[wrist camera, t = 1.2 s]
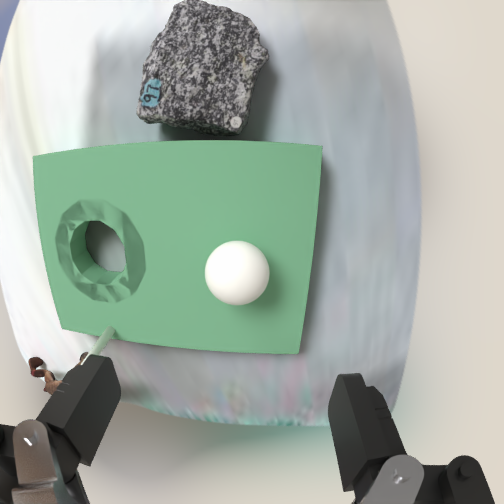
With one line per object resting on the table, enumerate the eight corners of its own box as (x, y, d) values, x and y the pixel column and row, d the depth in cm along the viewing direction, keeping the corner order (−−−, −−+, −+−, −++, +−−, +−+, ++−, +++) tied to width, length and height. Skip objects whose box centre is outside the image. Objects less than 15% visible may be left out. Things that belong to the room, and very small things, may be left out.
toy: (92, 359, 34) (133, 403, 24) (48, 391, 29) (72, 451, 18) (71, 328, 33) (102, 363, 22) (25, 361, 27) (34, 413, 17)
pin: (106, 325, 22) (37, 427, 11) (114, 326, 22) (46, 431, 11) (113, 351, 23) (56, 452, 12) (120, 353, 23) (65, 456, 12)
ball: (209, 231, 19) (198, 252, 16) (270, 234, 19) (273, 255, 16) (210, 285, 21) (200, 315, 17) (266, 288, 21) (268, 319, 17)
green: (50, 153, 20) (32, 156, 17) (315, 146, 20) (322, 146, 17) (74, 315, 25) (62, 328, 23) (295, 336, 25) (298, 353, 23)
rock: (282, 27, 17) (287, 3, 13) (239, 146, 20) (235, 146, 16) (186, 8, 16) (173, -16, 12) (143, 122, 19) (119, 118, 15)
